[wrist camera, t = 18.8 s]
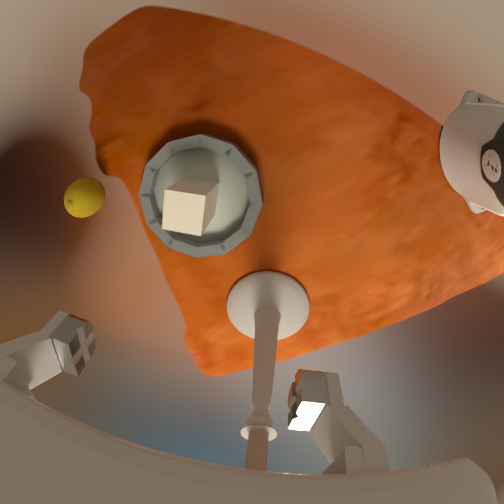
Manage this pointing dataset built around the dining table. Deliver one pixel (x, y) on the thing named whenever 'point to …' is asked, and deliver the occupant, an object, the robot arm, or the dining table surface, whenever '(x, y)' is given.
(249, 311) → the candlestick
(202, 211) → the block
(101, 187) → the lemon
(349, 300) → the dining table surface
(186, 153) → the dish
